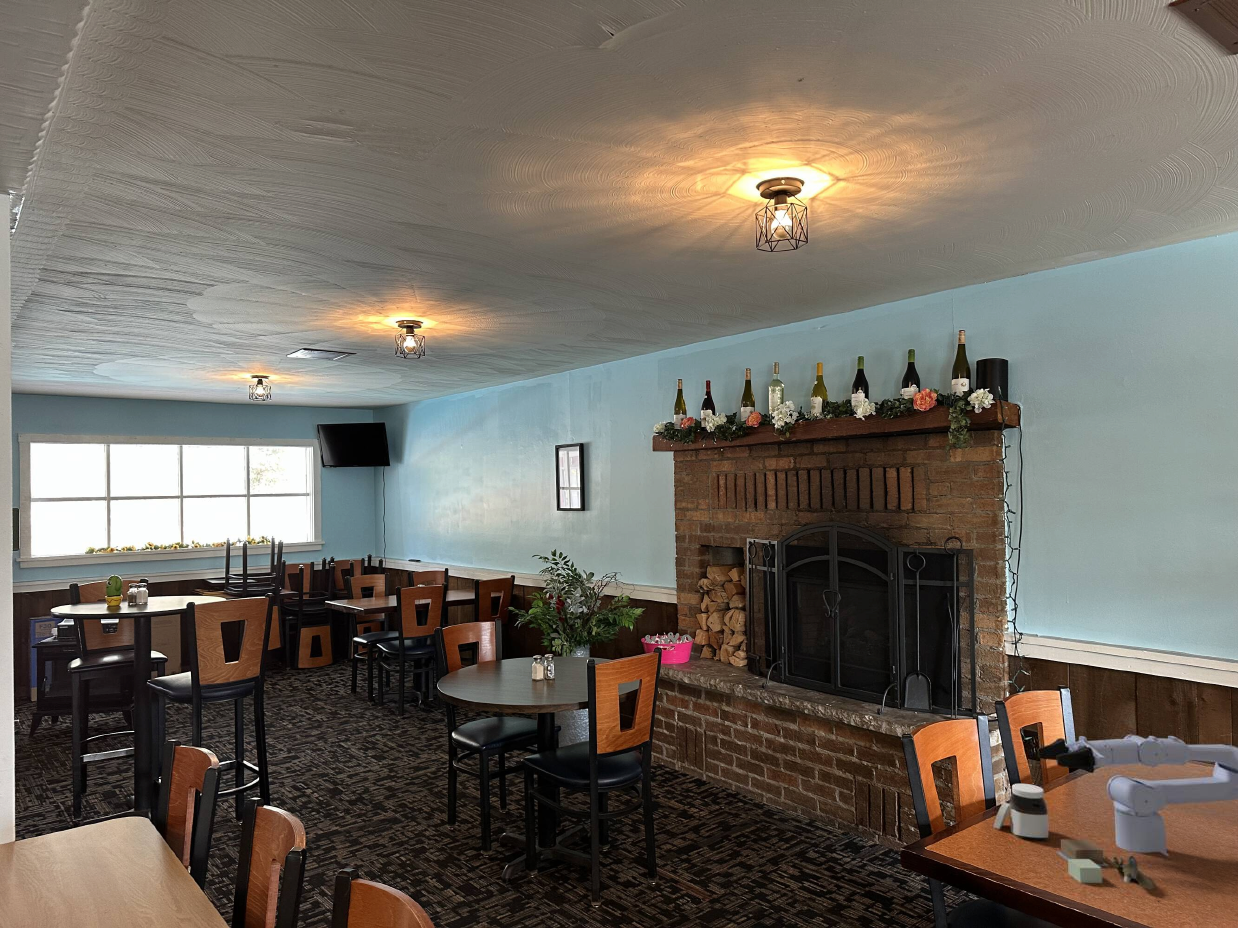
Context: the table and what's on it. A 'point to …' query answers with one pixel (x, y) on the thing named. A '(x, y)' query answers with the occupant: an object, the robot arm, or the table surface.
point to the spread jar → (1025, 813)
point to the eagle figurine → (1131, 872)
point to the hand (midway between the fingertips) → (1047, 756)
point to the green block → (1085, 870)
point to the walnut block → (1081, 850)
